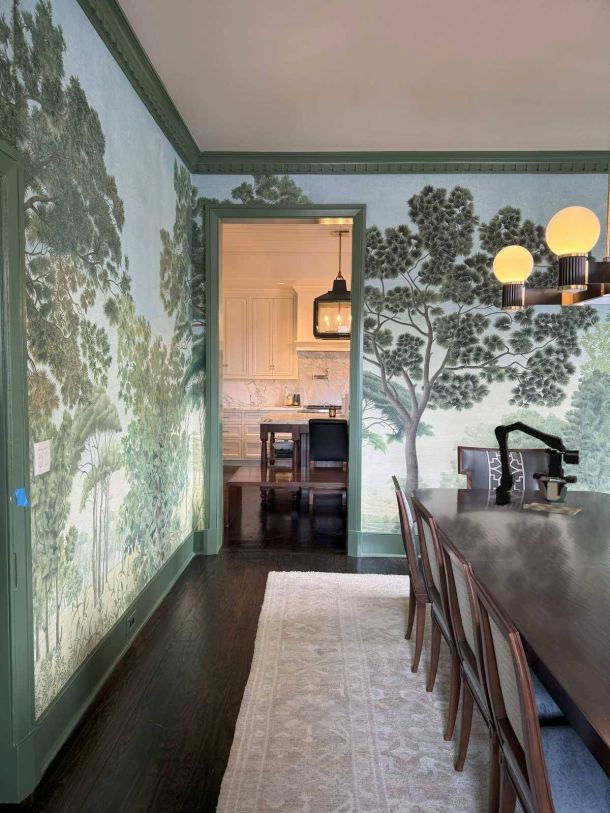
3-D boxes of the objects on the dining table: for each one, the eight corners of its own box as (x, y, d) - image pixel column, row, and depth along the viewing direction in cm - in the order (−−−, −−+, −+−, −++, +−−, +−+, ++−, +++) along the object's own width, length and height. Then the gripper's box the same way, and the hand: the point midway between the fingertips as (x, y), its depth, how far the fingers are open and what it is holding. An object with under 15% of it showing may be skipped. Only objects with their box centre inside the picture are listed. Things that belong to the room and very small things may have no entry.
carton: (547, 499, 260) (547, 482, 259) (551, 496, 265) (551, 480, 265) (556, 500, 257) (557, 483, 257) (560, 497, 262) (561, 481, 262)
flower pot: (567, 504, 273) (568, 486, 273) (549, 504, 274) (550, 486, 273) (559, 500, 282) (560, 483, 282) (542, 500, 282) (542, 483, 282)
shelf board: (523, 510, 261) (523, 504, 260) (533, 504, 273) (533, 498, 273) (573, 518, 247) (573, 511, 247) (581, 511, 259) (581, 505, 259)
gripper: (580, 463, 261) (579, 495, 261) (539, 459, 272) (538, 490, 273) (574, 465, 252) (573, 499, 253) (532, 461, 264) (531, 493, 264)
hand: (554, 495), depth 261 cm, fingers closed on carton, 4 cm apart
